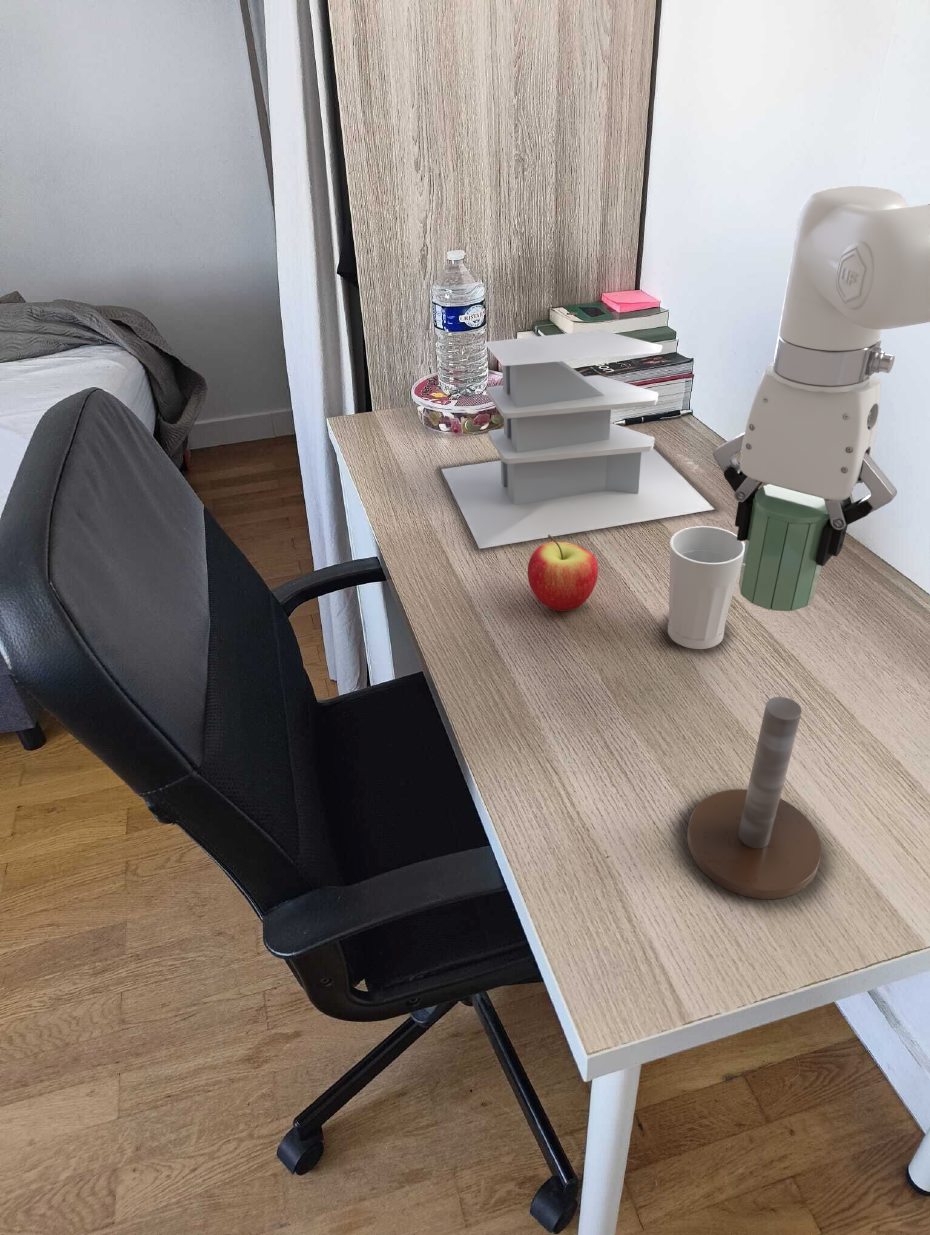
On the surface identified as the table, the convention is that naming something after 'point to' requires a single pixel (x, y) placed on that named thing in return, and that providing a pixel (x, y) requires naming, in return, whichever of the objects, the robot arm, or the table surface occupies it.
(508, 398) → the file organizer
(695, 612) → the cup
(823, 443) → the robot arm
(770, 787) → the towel stand
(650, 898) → the table surface
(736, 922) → the table surface
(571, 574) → the apple
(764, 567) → the green cup
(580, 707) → the table surface
